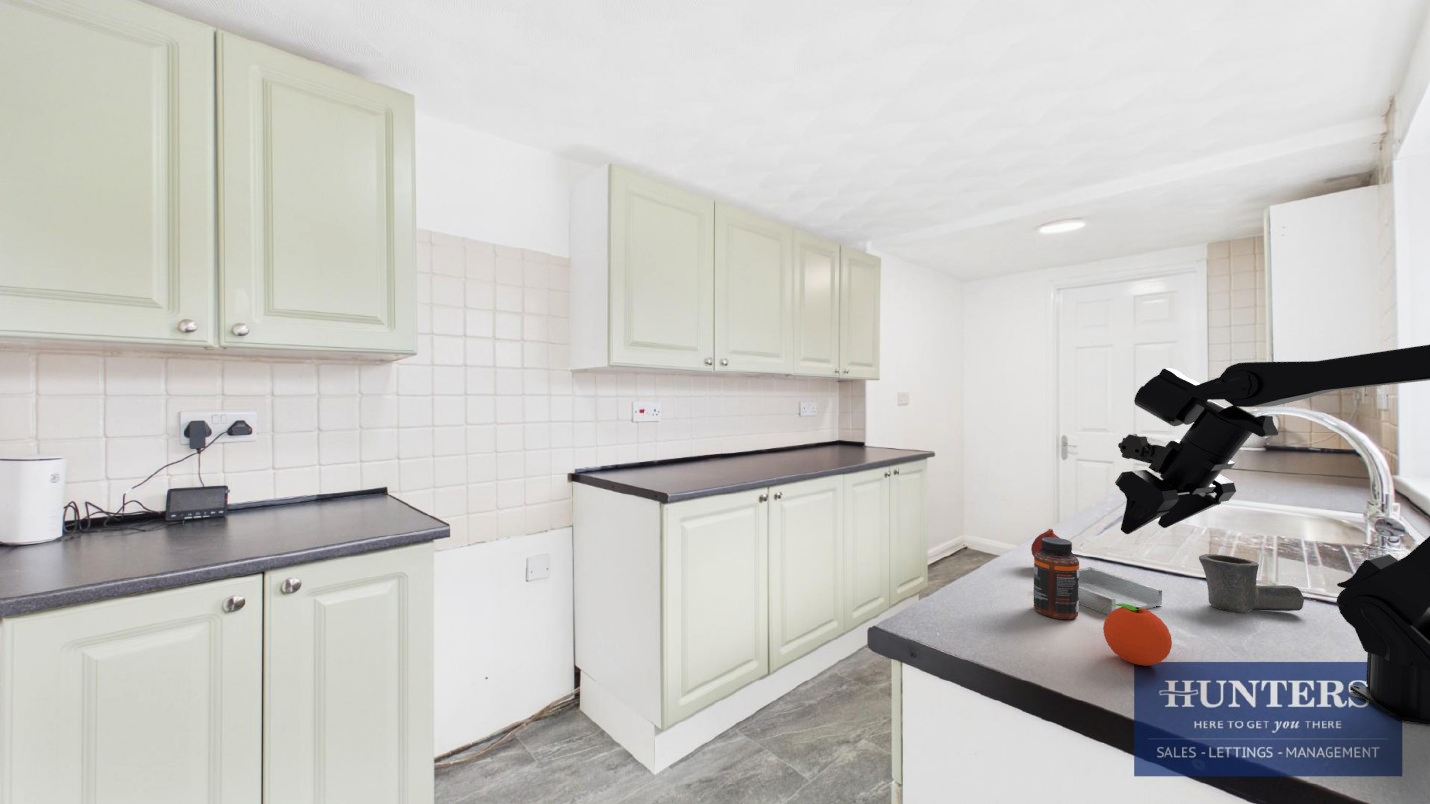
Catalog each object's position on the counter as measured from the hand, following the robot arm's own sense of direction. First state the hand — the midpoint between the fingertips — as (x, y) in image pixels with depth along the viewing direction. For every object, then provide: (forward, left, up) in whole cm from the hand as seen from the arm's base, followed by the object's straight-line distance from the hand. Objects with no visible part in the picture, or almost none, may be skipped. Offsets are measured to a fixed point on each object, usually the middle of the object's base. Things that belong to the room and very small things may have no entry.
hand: (1143, 529), depth 84 cm
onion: (+20, +7, -14) cm, 25 cm away
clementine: (-16, +7, -14) cm, 22 cm away
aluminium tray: (+7, +3, -13) cm, 15 cm away
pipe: (+8, -17, -14) cm, 23 cm away
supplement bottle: (-2, +12, -14) cm, 18 cm away
